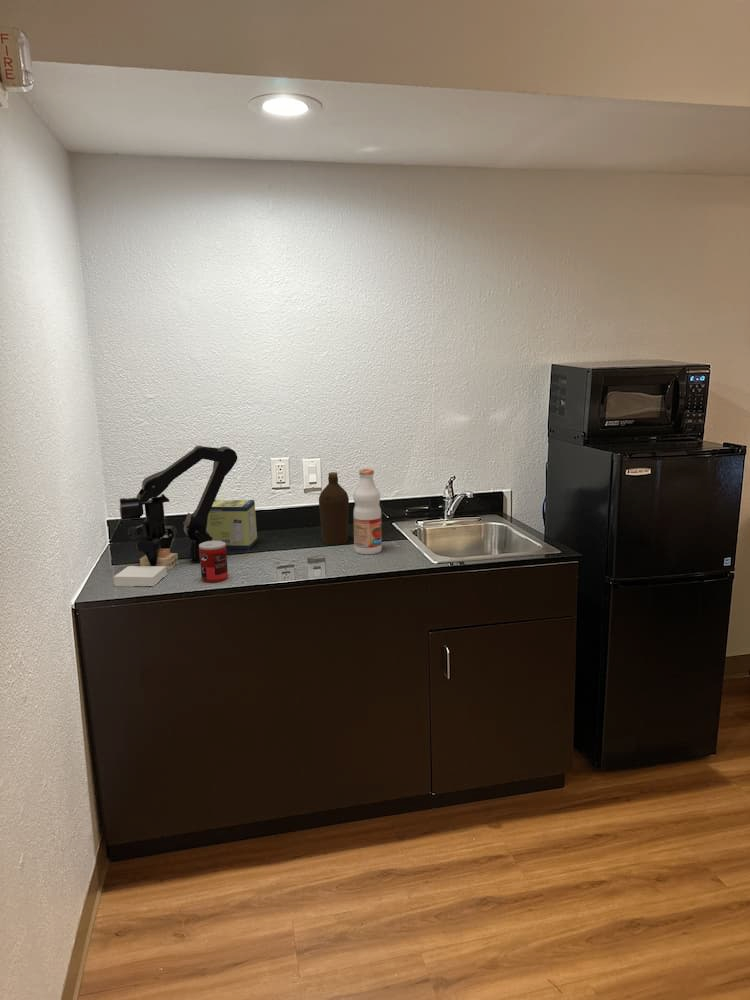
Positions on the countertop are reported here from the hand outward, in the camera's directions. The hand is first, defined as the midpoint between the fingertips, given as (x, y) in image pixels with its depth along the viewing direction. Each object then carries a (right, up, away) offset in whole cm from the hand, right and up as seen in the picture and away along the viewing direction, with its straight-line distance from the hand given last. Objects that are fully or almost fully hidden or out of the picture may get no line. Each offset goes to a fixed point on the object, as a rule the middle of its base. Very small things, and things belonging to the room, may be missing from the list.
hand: (159, 563), depth 221 cm
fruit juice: (+67, +3, +12) cm, 69 cm away
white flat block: (-1, -4, -13) cm, 14 cm away
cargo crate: (0, +2, -1) cm, 2 cm away
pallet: (0, -1, 0) cm, 1 cm away
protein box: (+19, +4, +22) cm, 29 cm away
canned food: (+21, -4, -12) cm, 25 cm away
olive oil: (+56, +5, +24) cm, 61 cm away
